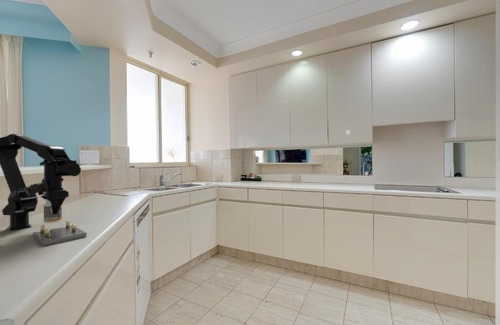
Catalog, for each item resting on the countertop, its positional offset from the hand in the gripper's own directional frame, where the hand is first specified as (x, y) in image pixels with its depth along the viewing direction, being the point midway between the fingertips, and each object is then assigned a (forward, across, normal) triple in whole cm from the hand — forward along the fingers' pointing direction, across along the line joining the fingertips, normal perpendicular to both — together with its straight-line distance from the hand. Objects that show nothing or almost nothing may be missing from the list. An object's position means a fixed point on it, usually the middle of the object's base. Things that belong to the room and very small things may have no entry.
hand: (52, 213), depth 93 cm
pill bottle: (+4, 0, 0) cm, 4 cm away
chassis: (+7, +15, -1) cm, 16 cm away
